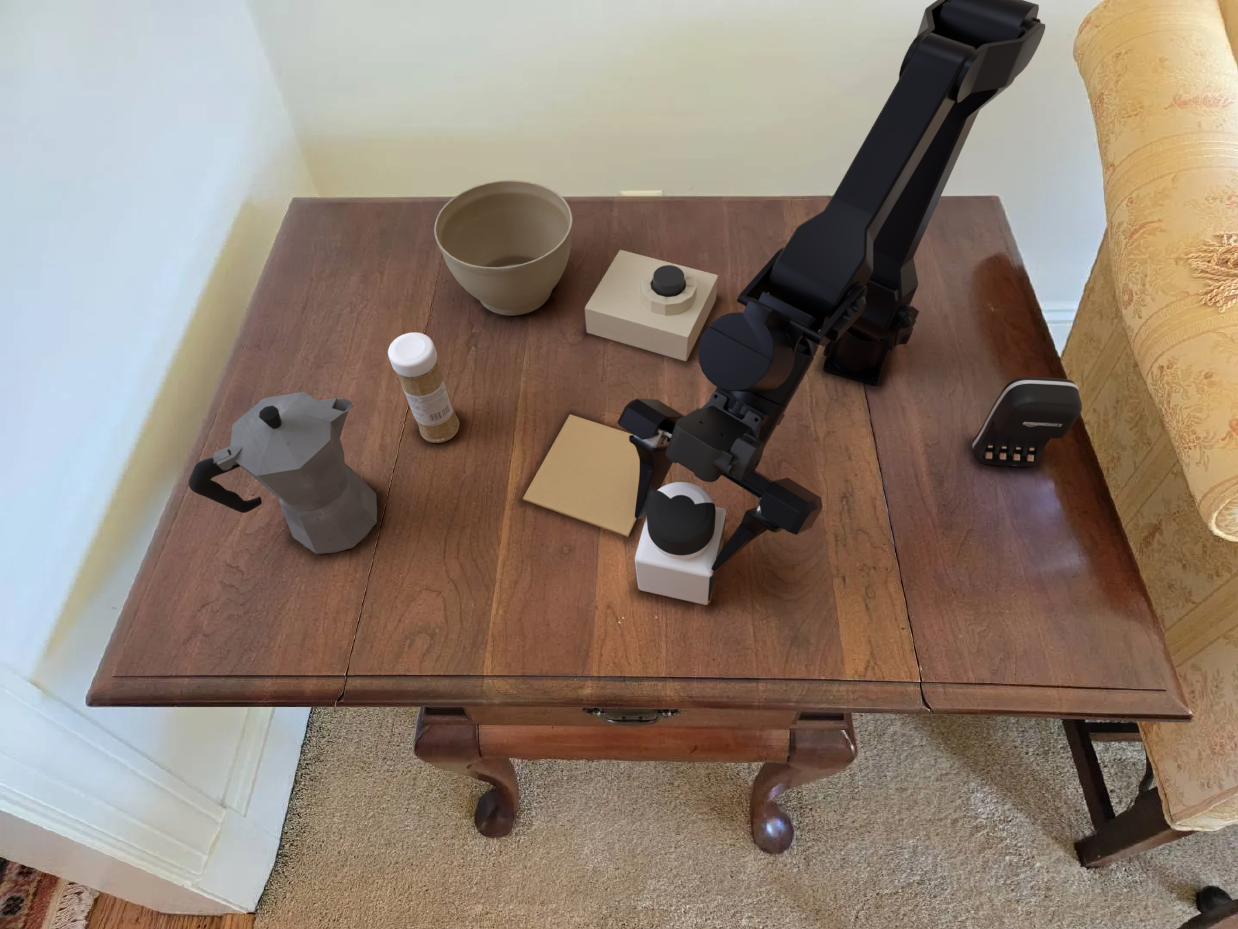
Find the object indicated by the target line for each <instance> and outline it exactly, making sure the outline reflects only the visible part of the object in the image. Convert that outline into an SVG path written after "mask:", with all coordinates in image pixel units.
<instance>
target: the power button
mask: <svg viewBox="0 0 1238 929" xmlns="http://www.w3.org/2000/svg"><path fill="white" fill-rule="evenodd" d="M683 288H684V273H683V271H682V270H681V269H680V268H678V267H676V266H672V265H665V266H661V267H659V268H658V269H656V270H655V272H654V274H653V289H654V291H655V292H656V293H657V294H658V295H660V296H664V297H673V296H677V295H679V294H680V293H681V292H682V291H683Z"/></svg>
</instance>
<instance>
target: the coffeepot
mask: <svg viewBox="0 0 1238 929" xmlns="http://www.w3.org/2000/svg"><path fill="white" fill-rule="evenodd" d="M353 407H354V404H353V402H352V400H350V399H347V398H346V397H339V398H337V397H333V398H327V399H326V398H325V399H320V400H318V399H316V398H314V397H313V396H311V395H310V394H308V393H307V392H306V391H299V392H293V393H292V392H291V393H286V394H280V395H273V396H268V397H263V398H262V399H261V400H260V401H258V402H257V403H256V404H255V405H253V406H252V408H250V409H249V410H248V411H247V412H245V413H244V414H243V415H242V416H241V417H239V418H238V419H237V420H236V421H234V423H233V424H232V425H231V426H232V427H231V435H230V445H228V446H225V447H224V448H221V449H220V450H217V451H215V452H213V453H212V455H213V456H211V457H209V458H206V459H203V460H200V461H198V462H197V463H195V465H194V467H193V469H192V472H191V474H190V476H189V479H188V487H189V489H190V490H191V491H192V492H193V493H195V494H197V495H199V496H202V497H204V498H207V499H208V500H211V501H213V502H216V503H219V504H220V505H223V506H224V507H225V506H226V507H228V508H230V509H232V510H233V511H236V512H238V513H241V514H246V513H248V512H251V511H253V510H254V509H256V508H258V507H259V506H261V505H262V503H263V502H262V498H261V496H257V497H254V498H252V499H248V500H245V499H243V498H242V497H241V496H240V495H239V494H238V493H237V492H235V491H233V490H229V489H226V488H225V487H224V486H223V485H221V484H220V483H219V482H217V481H215V480H213V478H215V477H217V476H220V475H223V474H227V473H228V472H231V471H234V470H235V469H238V468H242V469H243V470H244V471H246V472H247V473H248V474H249V475H250V476H251V477H253V479H255V480H256V481H257V482H258V483H260V484H261V485H262V486H263V487H264V488H265V489H266V490H268V491H269V492H270V493H271V494H273V496H276V497H277V498H278V499H279V505H280V508H281V509H282V514H283V516H284V518H285V520H286V523H287V526H288V529H289V531H290V534H291V536H292V538H293V539H295V540H296V541H297V542H299V543H300V544H301V545H302V546H304V547H305V548H307V549H309V550H310V551H311V552H313V553H314V554H316V555H324V554H333V553H336V554H337V553H339V552H343V551H345V550H349V549H353V548H354V547H355V546H357V545H358V544H359V543H361V541H363V539H365V538H366V537H367V536H368V534H370V532H371V531H372V529H373V528H374V526H375V525H376V524H377V523H378V503H377V497H378V496H377V493H376V492H375V491H374V490H373V488H371V487H370V486H369V484H368V483H366V481H364V480H363V479H362V477H360V475H359V474H358V473H357V472H355V470H354V469H352V468H351V467H350V466H349V465H348V464H347V463H346V462H345V451H344V447H343V444H342V440H341V436H342V433H343V430H344V427H345V422H346V420H347V417H348V414H349V412H350V410H351V409H352V408H353Z"/></svg>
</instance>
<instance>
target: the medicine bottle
mask: <svg viewBox="0 0 1238 929" xmlns="http://www.w3.org/2000/svg"><path fill="white" fill-rule="evenodd" d="M645 515H646V516H645V520H644V523H643V527H642V531H641V534H640V536H639V537H640V538H639V540H638V541H639V542H638V544H637V547H636V551H635V555H634V564H635V573H636V582H637V588H638V590H639V591H642V592H645V593H646V592H647V593H649V594H650V593H651V594H655V595H660V596H663V597H668V598H672V599H677V600H681V601H686V602H690V603H696V604H699V605H704V606H708V605H710V603H711V601H712V595H713V591H714V587H715V583H716V582H715V581H716V577H717V573H718V570H717V571H713V570H712V569H711V568H712V566H713V564H714V562H715V560H716V558H717V556H718V555H719V553H720V552H721V550H722V549H723V547H724V538H725V526H726V518H727V511H726V509H725V508H723V507H719V506H716V504H715V502H714V500H713V498H712V496H711V495H710V494H709V493H708V492H707V491H706V490H705V489H704V488H703V487H701V486H699V485H697V484H694V483H691V482H688V481H675V482H671V483H667V484H665V485H662V486H661V487H660V488H659V489H658V490H657V491H656V492H655V493H654V494H653V495H652V496H651V498H650V500H649V502H648V505H647V509H646V513H645Z"/></svg>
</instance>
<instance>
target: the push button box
mask: <svg viewBox="0 0 1238 929" xmlns="http://www.w3.org/2000/svg"><path fill="white" fill-rule="evenodd" d="M665 265H672V266H676V267H678V268H680V269H681V270H682V271H683V273H684V288H683V291H682V292H681V293H680V294H679V295H677V296H673V297H664V296H660V295H658V294H657V293H656V292H655V291H654V289H653V274H654V272H655V270H656V269H658V268H659V267H661V266H665ZM718 282H719V274H715V273H711V272H707V271H703V270H700V269H696V268H692V267H689V266H685V265H680V264H677V263H673V262H669V261H665V260H663V259H662V260H661V259H658V258H653V257H650V256H646V255H642V254H639V253H634V252H631V251H628V250H627V251H626V250H623V249H619V250H618V252H617V254H616V255H615V257H614V259H613V260H612V262H611V264H610V266H609V267H608V269H607V270H606V272H605V274H604V275H603V277H602V279H601V280H600V282H599V283H598V284H597V287H596V289H595V290H594V292H593V294H592V295H591V297H590V298H589V300H588V301H587V303H586V305H585V307H584V316H585V317H584V318H585V329H586V333H587V334H589V335H590V334H591V335H594V336H597V337H600V338H604V339H607V340H611V341H614V342H618V343H622V344H625V345H627V346H632V347H636V348H639V349H643V350H645V351H649V352H652V353H656V354H658V355H663V356H666V357H670V358H673V359H676V360H678V361H679V360H680V361H683V362H687V361H688V359H689V357H690V355H691V352H692V351H693V349H694V347H695V345H696V342H697V340H698V338H699V336H700V334H701V332H702V330H703V328H704V325H705V324H706V321H707V320H708V318H709V315H710V313H711V311H712V309H713V307H714V305H715V303H716V300H717V292H718Z"/></svg>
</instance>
